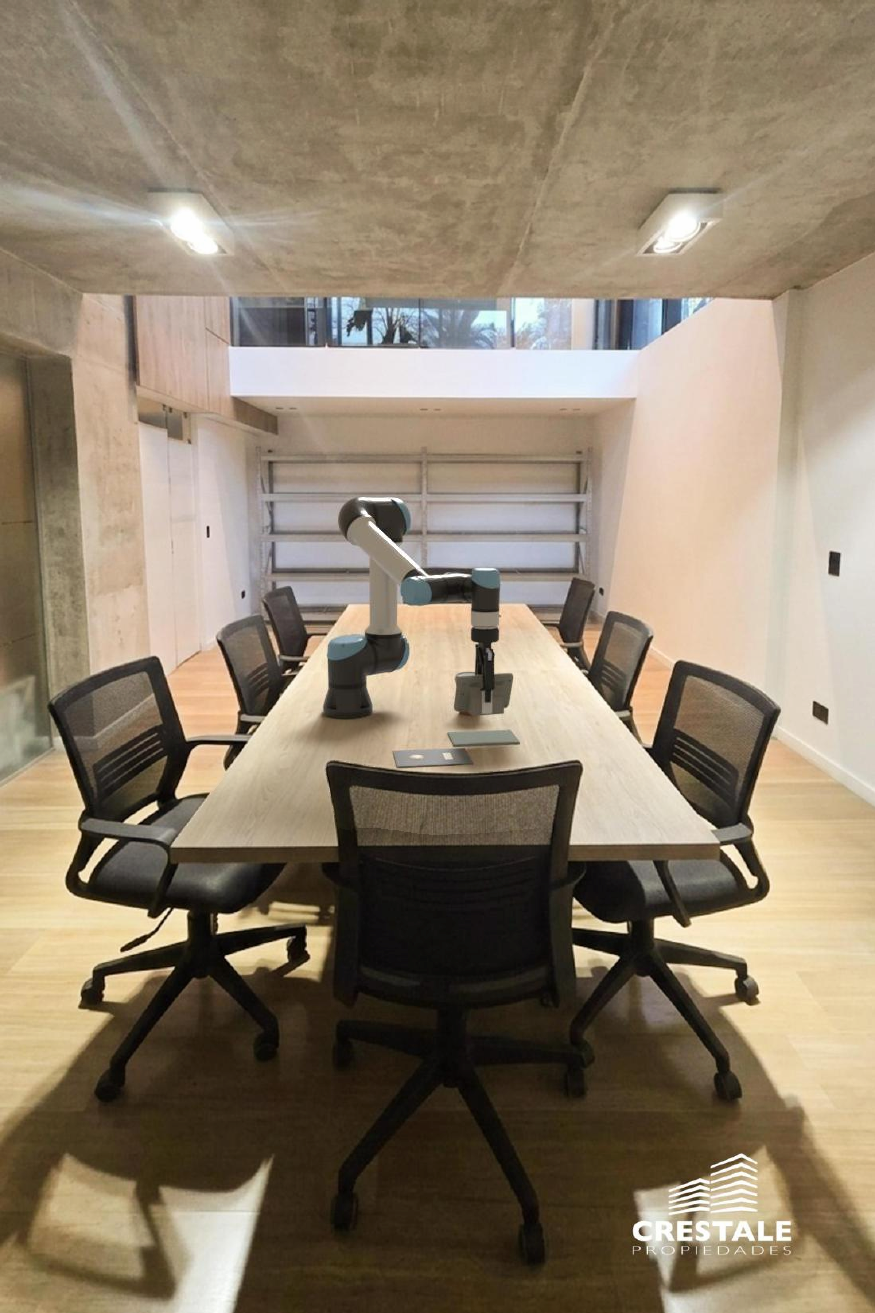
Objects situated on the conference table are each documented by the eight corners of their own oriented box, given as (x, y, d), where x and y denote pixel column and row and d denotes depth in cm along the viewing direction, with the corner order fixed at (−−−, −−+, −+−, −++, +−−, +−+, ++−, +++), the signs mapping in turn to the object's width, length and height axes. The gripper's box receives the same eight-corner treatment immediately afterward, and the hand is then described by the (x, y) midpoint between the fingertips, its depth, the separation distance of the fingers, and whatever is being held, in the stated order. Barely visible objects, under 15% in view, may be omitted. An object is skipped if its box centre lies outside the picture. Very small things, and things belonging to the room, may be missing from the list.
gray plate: (397, 767, 188) (397, 766, 188) (392, 751, 200) (392, 750, 200) (473, 764, 191) (473, 763, 191) (464, 748, 202) (464, 747, 202)
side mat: (453, 746, 205) (453, 744, 204) (447, 733, 215) (447, 732, 215) (519, 743, 207) (519, 741, 207) (510, 731, 218) (510, 729, 218)
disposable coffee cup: (482, 717, 231) (483, 679, 229) (451, 716, 233) (451, 677, 230) (486, 709, 240) (487, 672, 238) (456, 707, 242) (457, 670, 240)
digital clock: (510, 706, 215) (510, 669, 213) (516, 715, 206) (516, 676, 204) (452, 708, 213) (452, 670, 212) (455, 717, 205) (455, 678, 203)
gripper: (507, 632, 195) (505, 719, 200) (490, 620, 215) (489, 699, 220) (478, 633, 194) (477, 720, 199) (464, 621, 214) (463, 700, 219)
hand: (483, 709), depth 209 cm, fingers closed on digital clock, 7 cm apart
